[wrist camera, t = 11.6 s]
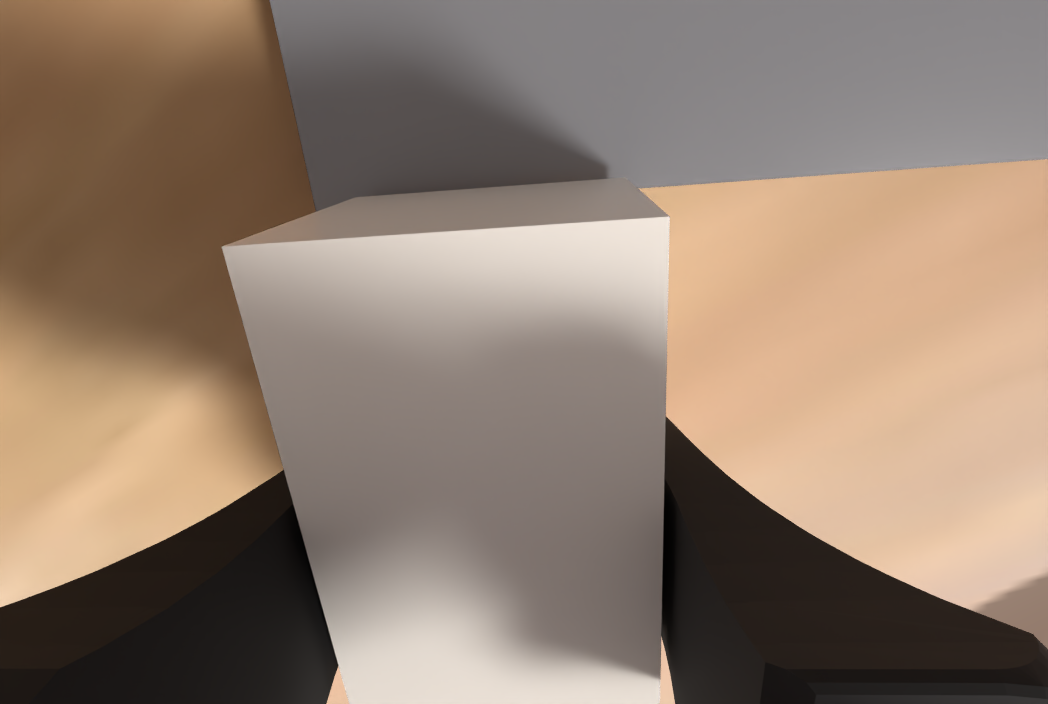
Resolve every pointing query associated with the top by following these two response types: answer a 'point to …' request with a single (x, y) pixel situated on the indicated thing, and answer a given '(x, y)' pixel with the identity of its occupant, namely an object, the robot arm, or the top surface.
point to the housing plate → (656, 89)
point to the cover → (474, 434)
